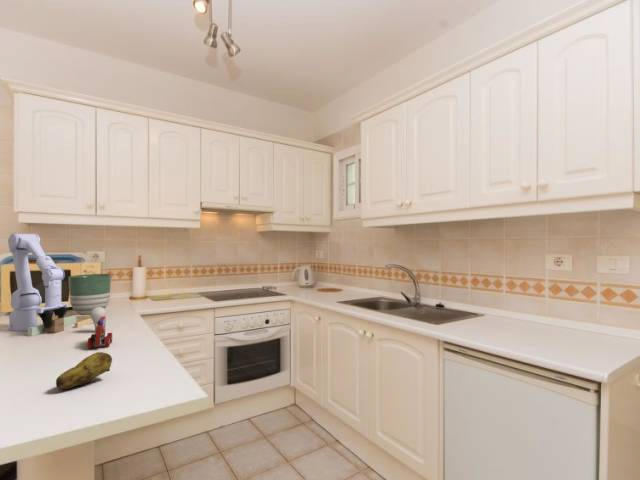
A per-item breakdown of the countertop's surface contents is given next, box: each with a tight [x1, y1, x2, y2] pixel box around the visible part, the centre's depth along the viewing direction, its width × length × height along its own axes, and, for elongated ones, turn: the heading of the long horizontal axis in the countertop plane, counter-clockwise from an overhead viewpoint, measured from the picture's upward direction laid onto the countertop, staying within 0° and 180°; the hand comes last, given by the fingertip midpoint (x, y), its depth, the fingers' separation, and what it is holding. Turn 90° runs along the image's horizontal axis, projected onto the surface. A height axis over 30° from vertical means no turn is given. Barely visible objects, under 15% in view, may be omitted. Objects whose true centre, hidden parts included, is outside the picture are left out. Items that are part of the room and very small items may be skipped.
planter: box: [68, 273, 112, 315], centre depth 189 cm, size 20×20×21 cm
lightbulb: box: [90, 307, 108, 331], centre depth 152 cm, size 6×6×11 cm
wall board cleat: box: [27, 314, 94, 337], centre depth 158 cm, size 10×26×4 cm, turn 176°
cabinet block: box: [43, 315, 65, 335], centre depth 152 cm, size 5×5×7 cm
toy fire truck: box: [86, 316, 113, 350], centre depth 132 cm, size 7×12×10 cm, turn 23°
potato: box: [55, 351, 113, 390], centre depth 96 cm, size 8×13×8 cm, turn 123°
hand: (53, 326), depth 152 cm, fingers open, 5 cm apart
